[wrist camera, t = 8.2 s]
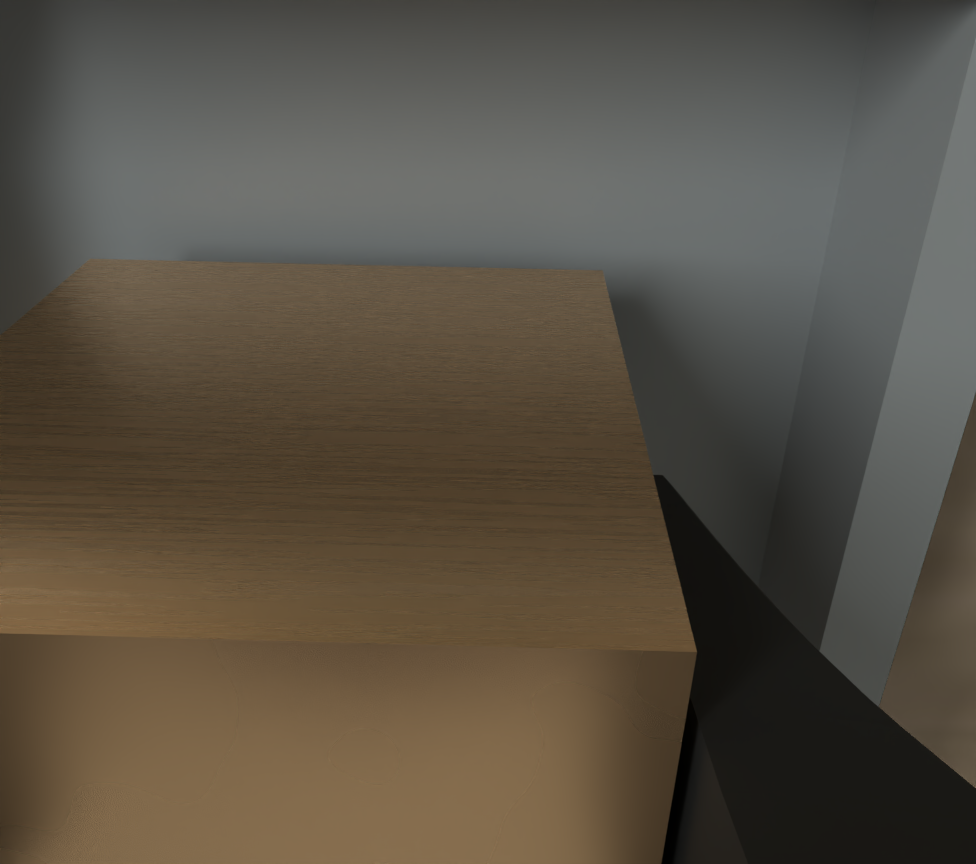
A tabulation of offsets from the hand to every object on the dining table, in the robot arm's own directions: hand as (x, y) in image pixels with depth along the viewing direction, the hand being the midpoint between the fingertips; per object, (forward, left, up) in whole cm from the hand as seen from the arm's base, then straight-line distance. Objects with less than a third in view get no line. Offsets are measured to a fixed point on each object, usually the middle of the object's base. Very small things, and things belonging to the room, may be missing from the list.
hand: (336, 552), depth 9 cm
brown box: (0, 0, -2) cm, 2 cm away
